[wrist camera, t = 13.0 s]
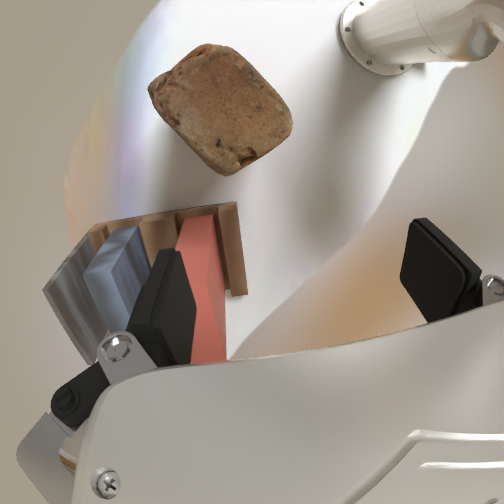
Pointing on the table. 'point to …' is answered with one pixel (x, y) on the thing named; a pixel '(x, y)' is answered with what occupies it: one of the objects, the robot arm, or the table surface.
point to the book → (205, 287)
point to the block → (221, 108)
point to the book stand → (130, 270)
